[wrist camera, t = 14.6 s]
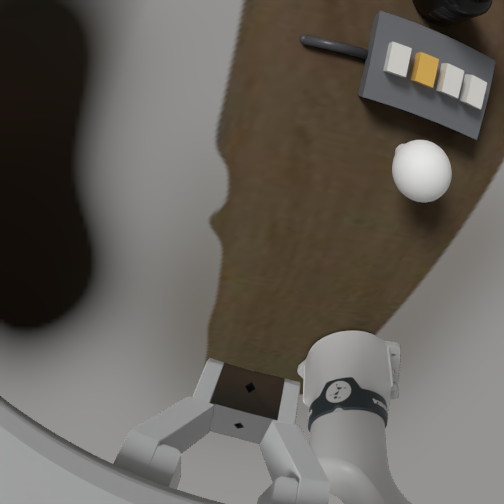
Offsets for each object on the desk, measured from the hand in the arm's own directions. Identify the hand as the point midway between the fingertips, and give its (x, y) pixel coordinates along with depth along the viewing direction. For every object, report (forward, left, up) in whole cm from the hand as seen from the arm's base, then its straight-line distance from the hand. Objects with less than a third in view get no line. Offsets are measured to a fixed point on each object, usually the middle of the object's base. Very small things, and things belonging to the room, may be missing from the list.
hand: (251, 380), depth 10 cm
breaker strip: (+6, -14, -32) cm, 35 cm away
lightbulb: (-4, -11, -32) cm, 34 cm away
